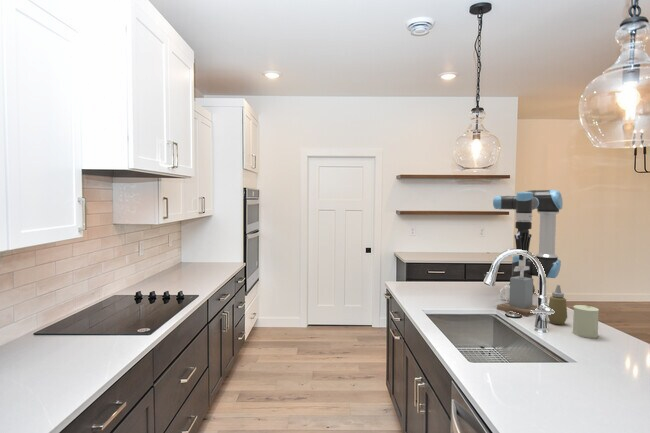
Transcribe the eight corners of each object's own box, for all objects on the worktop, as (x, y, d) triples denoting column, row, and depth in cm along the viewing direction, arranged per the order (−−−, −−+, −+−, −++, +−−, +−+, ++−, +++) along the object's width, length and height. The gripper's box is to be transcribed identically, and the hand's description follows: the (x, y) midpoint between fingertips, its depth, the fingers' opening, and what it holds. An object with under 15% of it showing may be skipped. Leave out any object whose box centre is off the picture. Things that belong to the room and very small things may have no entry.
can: (600, 334, 164) (601, 307, 164) (594, 339, 158) (595, 311, 158) (576, 329, 171) (577, 302, 171) (569, 333, 165) (570, 306, 165)
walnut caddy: (515, 304, 213) (515, 300, 213) (544, 311, 200) (545, 307, 199) (496, 309, 202) (496, 305, 202) (527, 316, 189) (527, 312, 189)
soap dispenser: (517, 303, 206) (518, 276, 206) (532, 307, 200) (533, 278, 199) (509, 305, 202) (510, 277, 201) (524, 309, 195) (525, 280, 195)
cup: (519, 301, 218) (520, 287, 218) (503, 302, 217) (503, 288, 217) (512, 298, 225) (512, 285, 225) (496, 298, 224) (496, 285, 224)
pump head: (521, 283, 204) (521, 265, 204) (528, 284, 201) (529, 266, 200) (510, 285, 198) (511, 267, 198) (518, 286, 195) (518, 268, 194)
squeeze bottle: (555, 319, 185) (557, 283, 184) (571, 325, 177) (572, 286, 176) (543, 321, 182) (544, 283, 182) (558, 326, 175) (559, 287, 174)
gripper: (524, 221, 192) (522, 268, 193) (537, 221, 200) (535, 266, 201) (509, 221, 199) (508, 266, 199) (523, 220, 206) (521, 264, 207)
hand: (522, 266), depth 200 cm, fingers closed
